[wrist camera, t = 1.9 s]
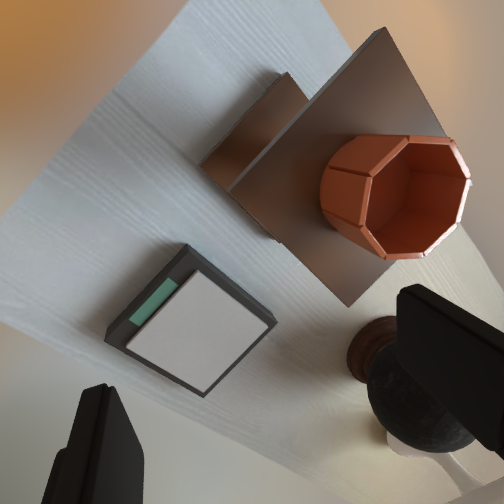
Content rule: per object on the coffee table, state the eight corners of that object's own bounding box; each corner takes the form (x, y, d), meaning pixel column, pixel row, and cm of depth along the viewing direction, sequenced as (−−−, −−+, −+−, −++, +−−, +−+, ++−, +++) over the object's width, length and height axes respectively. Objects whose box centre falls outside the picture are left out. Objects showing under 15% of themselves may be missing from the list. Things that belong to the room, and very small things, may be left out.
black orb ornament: (328, 385, 48) (396, 486, 34) (359, 305, 44) (448, 382, 31) (399, 387, 52) (485, 477, 38) (432, 314, 48) (540, 385, 35)
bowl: (314, 236, 20) (352, 262, 16) (325, 132, 18) (373, 132, 14) (396, 233, 22) (451, 256, 18) (416, 137, 20) (482, 139, 16)
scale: (106, 328, 36) (102, 344, 33) (187, 243, 35) (189, 252, 32) (201, 384, 42) (203, 402, 39) (271, 312, 41) (280, 325, 38)
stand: (197, 164, 33) (229, 191, 18) (281, 73, 32) (385, 25, 17) (275, 239, 38) (348, 308, 23) (349, 162, 37) (474, 183, 22)
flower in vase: (380, 404, 52) (551, 613, 30) (441, 382, 54) (643, 562, 32) (379, 459, 57) (524, 675, 34) (435, 438, 59) (605, 627, 37)
